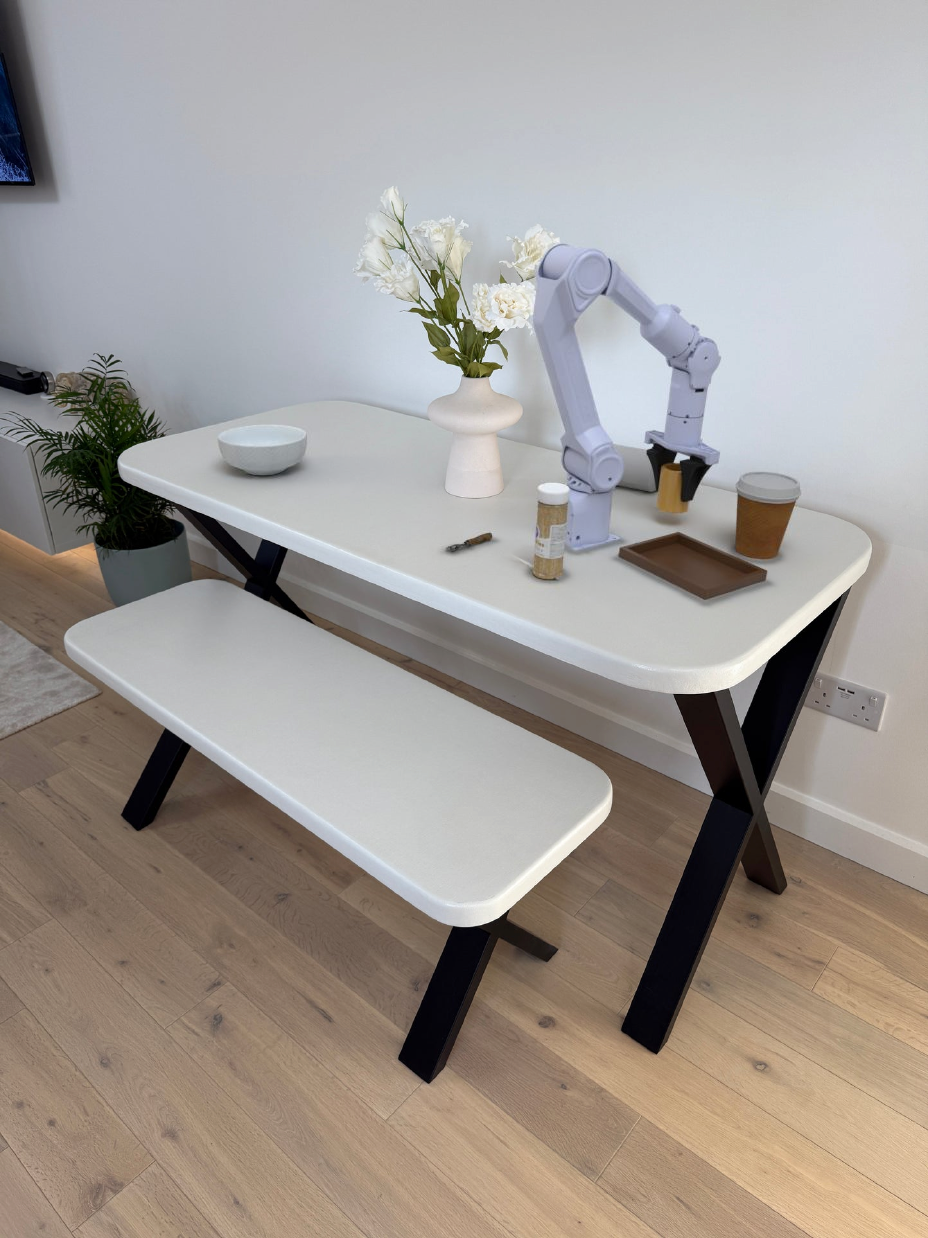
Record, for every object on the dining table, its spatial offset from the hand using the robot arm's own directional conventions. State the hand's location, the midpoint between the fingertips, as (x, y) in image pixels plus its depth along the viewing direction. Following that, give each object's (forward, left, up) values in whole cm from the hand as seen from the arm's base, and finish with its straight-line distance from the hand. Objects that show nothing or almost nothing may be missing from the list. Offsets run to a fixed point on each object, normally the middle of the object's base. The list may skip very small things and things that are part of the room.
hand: (674, 495), depth 141 cm
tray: (-11, -15, -5) cm, 19 cm away
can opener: (-34, +10, -5) cm, 36 cm away
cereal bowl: (-47, +63, -6) cm, 79 cm away
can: (+11, +14, -2) cm, 17 cm away
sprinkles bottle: (-30, -5, -6) cm, 31 cm away
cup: (0, 0, -2) cm, 2 cm away
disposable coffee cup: (+3, -16, -6) cm, 17 cm away
